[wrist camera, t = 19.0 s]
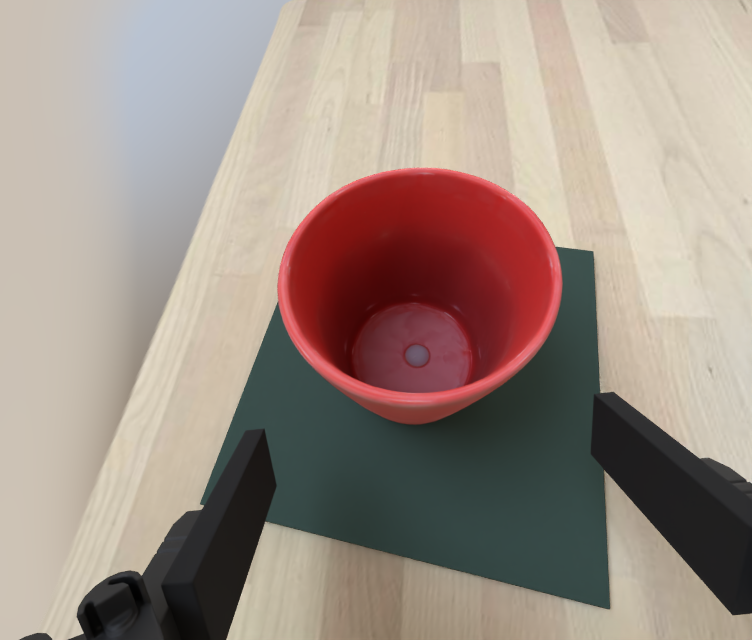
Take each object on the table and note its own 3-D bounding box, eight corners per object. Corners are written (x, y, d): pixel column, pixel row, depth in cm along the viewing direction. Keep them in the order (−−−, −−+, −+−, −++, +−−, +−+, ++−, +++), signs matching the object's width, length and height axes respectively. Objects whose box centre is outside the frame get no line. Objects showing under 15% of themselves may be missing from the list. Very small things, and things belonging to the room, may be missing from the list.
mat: (203, 504, 21) (199, 504, 20) (311, 221, 30) (310, 216, 29) (605, 607, 18) (610, 609, 17) (590, 255, 27) (593, 251, 26)
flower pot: (546, 388, 22) (636, 298, 13) (378, 495, 20) (358, 468, 11) (439, 260, 27) (455, 132, 18) (294, 336, 25) (235, 233, 16)
